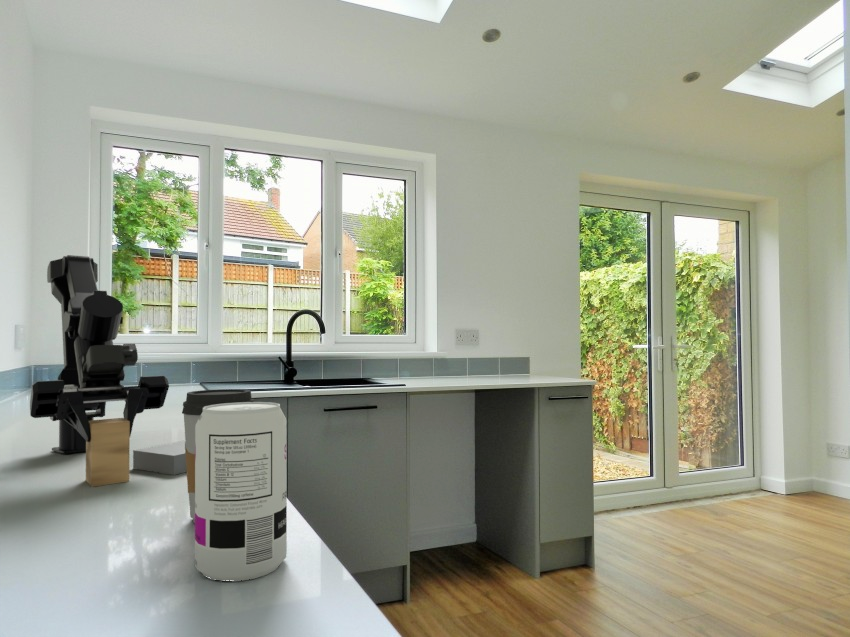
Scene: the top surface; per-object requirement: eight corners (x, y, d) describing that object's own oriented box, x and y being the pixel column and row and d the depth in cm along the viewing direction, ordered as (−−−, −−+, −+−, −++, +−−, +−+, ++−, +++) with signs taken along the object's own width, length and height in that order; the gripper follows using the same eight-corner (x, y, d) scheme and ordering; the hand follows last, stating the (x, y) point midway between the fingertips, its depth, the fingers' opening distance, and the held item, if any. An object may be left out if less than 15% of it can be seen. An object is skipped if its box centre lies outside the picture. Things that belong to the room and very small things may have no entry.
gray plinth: (133, 468, 96) (133, 450, 96) (184, 457, 105) (184, 440, 105) (173, 474, 91) (174, 455, 91) (223, 462, 100) (223, 445, 100)
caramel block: (85, 480, 88) (86, 420, 88) (122, 475, 91) (122, 417, 92) (91, 486, 84) (92, 424, 85) (129, 481, 87) (129, 421, 88)
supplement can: (175, 574, 53) (176, 408, 53) (242, 545, 60) (243, 400, 60) (240, 592, 49) (241, 413, 49) (304, 558, 56) (304, 403, 57)
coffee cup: (241, 529, 65) (242, 395, 65) (168, 529, 65) (168, 395, 66) (264, 507, 73) (264, 388, 74) (198, 507, 73) (199, 388, 74)
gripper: (32, 326, 86) (39, 408, 77) (166, 327, 97) (185, 398, 88) (27, 377, 92) (33, 458, 83) (153, 372, 103) (170, 443, 94)
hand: (109, 437), depth 87 cm, fingers closed on caramel block, 5 cm apart
